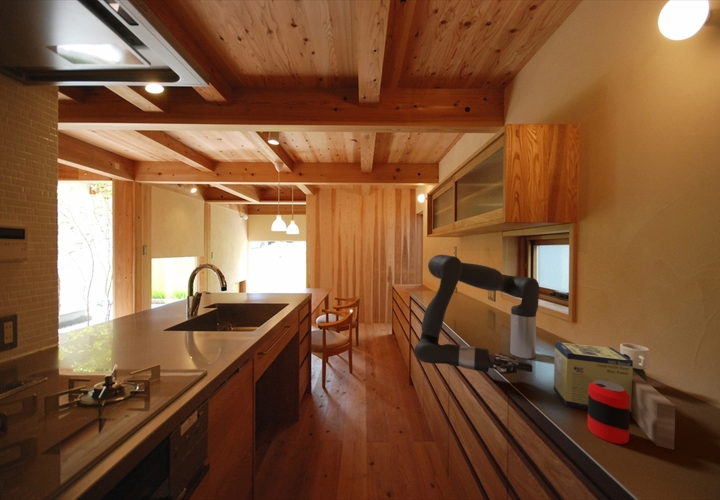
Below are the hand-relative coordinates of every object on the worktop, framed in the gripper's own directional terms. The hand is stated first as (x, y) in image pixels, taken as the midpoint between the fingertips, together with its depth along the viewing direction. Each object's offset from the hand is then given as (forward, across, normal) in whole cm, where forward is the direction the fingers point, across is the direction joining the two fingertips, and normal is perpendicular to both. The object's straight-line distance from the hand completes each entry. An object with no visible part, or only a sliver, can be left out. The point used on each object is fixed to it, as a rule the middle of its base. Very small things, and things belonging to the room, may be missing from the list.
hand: (531, 368), depth 89 cm
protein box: (+15, -1, +7) cm, 16 cm away
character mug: (+32, +19, +7) cm, 38 cm away
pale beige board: (+24, -4, +7) cm, 25 cm away
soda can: (+14, -17, +7) cm, 23 cm away
